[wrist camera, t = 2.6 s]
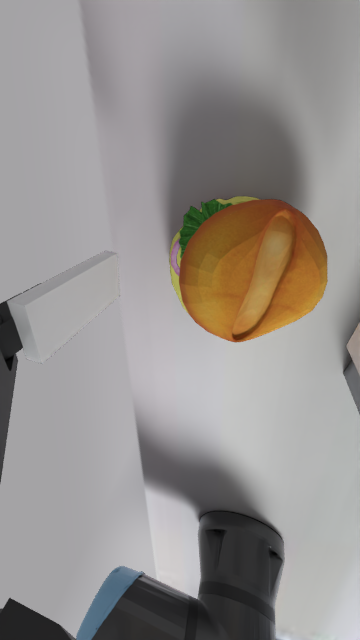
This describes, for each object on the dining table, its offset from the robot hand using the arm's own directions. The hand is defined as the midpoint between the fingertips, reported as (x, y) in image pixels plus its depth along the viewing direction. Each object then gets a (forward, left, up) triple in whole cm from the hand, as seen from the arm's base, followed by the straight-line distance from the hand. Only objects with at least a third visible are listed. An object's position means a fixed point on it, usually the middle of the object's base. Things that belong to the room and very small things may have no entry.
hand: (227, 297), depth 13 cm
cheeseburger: (0, 0, -10) cm, 9 cm away
